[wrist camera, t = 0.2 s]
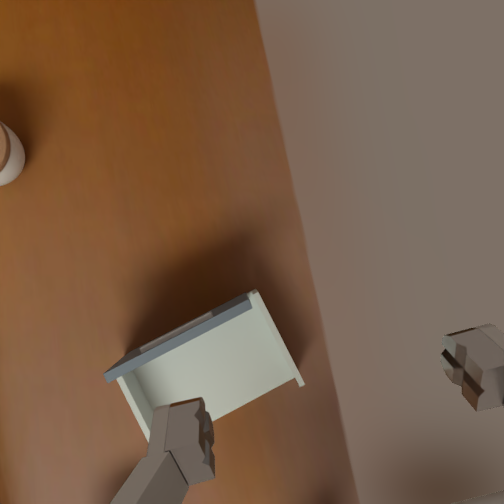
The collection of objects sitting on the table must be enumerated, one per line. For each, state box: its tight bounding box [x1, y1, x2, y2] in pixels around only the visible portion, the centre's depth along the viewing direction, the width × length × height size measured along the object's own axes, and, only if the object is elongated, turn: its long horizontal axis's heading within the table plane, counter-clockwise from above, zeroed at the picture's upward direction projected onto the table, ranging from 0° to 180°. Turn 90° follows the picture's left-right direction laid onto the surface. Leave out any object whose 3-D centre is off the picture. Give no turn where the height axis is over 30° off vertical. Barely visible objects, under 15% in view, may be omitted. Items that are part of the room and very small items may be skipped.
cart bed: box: [117, 289, 305, 443], centre depth 61 cm, size 18×28×7 cm, turn 117°
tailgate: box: [103, 292, 253, 383], centre depth 56 cm, size 2×24×12 cm, turn 117°
